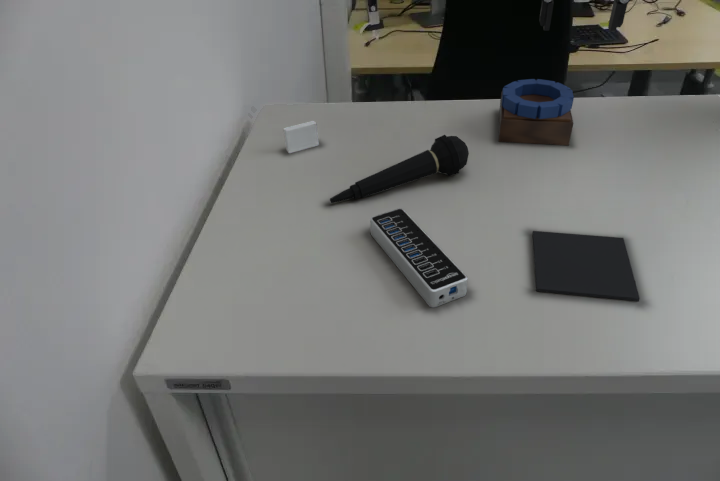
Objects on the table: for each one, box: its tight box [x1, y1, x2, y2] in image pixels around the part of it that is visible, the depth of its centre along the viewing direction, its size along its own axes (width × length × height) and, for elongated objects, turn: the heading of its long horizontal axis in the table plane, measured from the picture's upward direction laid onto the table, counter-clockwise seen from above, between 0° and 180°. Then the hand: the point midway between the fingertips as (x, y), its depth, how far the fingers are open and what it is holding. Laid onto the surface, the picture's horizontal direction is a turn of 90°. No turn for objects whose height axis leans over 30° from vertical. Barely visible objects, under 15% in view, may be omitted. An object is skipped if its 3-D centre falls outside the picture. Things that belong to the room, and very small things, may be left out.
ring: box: [501, 78, 575, 119], centre depth 83 cm, size 10×10×2 cm
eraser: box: [282, 120, 320, 154], centre depth 84 cm, size 1×5×4 cm, turn 116°
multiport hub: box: [369, 208, 468, 308], centre depth 62 cm, size 4×14×2 cm, turn 25°
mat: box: [532, 230, 641, 302], centre depth 61 cm, size 10×10×1 cm
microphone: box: [329, 134, 470, 204], centre depth 74 cm, size 6×6×20 cm
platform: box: [498, 91, 574, 146], centre depth 85 cm, size 10×10×4 cm
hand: (578, 29), depth 76 cm, fingers open, 8 cm apart
